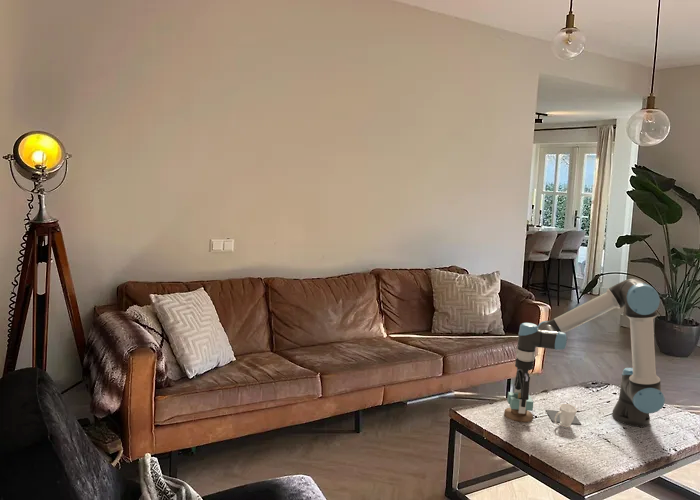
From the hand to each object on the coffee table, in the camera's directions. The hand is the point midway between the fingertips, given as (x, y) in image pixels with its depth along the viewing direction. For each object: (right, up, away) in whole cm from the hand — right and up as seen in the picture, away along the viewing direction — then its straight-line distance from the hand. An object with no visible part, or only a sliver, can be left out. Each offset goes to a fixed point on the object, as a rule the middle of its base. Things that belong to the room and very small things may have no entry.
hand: (519, 408), depth 256 cm
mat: (+20, -5, +2) cm, 21 cm away
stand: (0, -4, +1) cm, 4 cm away
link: (0, +1, 0) cm, 1 cm away
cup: (+17, -6, -6) cm, 19 cm away
